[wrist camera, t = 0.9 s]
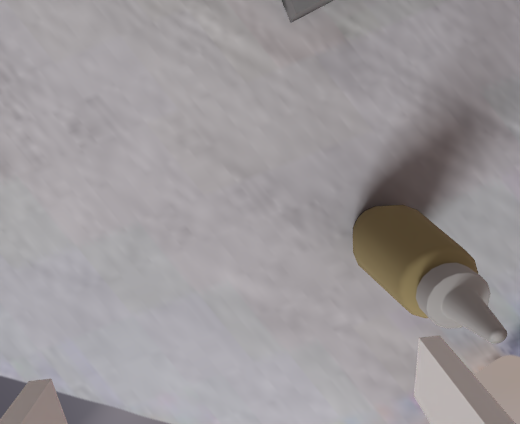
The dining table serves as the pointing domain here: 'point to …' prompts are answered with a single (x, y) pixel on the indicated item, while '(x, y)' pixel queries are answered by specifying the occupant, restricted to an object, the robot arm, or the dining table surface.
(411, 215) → the squeeze bottle
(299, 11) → the tray
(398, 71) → the dining table surface
